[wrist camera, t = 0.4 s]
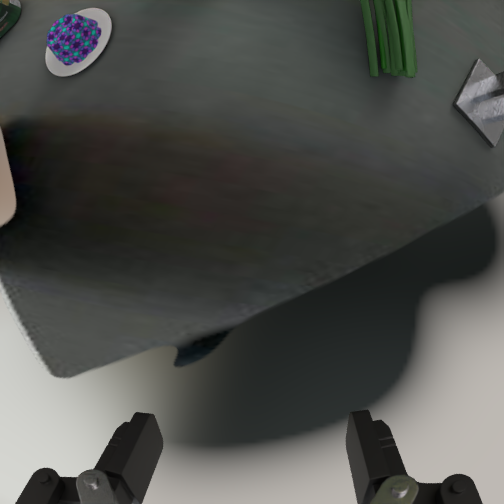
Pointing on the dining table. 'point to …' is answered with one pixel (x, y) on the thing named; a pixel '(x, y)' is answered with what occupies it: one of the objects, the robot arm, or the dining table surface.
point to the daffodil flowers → (391, 37)
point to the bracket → (483, 102)
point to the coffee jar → (8, 14)
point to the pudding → (77, 41)
